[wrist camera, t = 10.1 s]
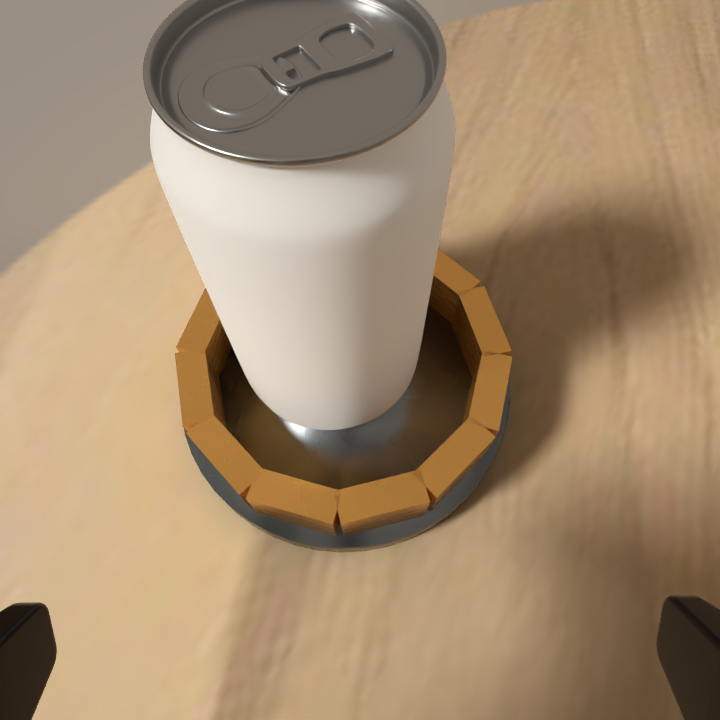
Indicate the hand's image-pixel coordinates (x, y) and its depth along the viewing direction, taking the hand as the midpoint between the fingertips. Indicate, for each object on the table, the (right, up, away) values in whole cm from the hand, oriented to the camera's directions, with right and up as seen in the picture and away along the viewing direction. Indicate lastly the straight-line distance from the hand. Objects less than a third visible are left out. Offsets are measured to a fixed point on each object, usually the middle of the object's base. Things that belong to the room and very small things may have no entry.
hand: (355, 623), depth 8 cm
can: (-1, +4, +13) cm, 14 cm away
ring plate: (-1, +3, +13) cm, 14 cm away
